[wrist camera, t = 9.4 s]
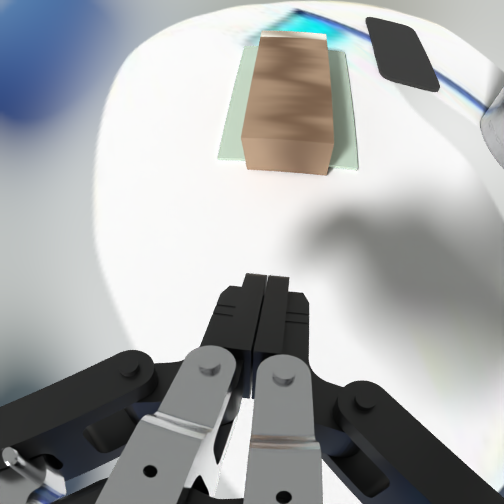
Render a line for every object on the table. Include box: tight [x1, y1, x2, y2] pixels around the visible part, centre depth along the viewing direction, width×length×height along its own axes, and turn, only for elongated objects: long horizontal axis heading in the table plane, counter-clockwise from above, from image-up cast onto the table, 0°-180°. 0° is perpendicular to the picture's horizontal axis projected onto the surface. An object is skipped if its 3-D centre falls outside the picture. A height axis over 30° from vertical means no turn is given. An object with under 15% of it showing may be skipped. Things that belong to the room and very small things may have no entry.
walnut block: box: [241, 31, 334, 175], centre depth 22 cm, size 6×4×14 cm
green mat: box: [218, 46, 358, 170], centre depth 24 cm, size 11×16×1 cm
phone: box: [366, 17, 440, 92], centre depth 26 cm, size 7×1×15 cm
